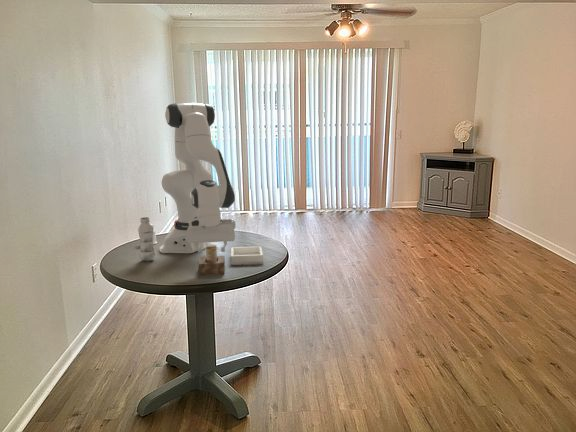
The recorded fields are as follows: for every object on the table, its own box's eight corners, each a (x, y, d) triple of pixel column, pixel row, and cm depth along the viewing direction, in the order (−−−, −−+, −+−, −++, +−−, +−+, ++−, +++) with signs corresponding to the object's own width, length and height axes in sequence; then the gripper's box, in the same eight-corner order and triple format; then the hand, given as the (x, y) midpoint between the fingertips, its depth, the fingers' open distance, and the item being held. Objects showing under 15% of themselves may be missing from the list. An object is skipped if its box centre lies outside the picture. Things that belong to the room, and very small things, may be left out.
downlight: (160, 243, 245) (158, 224, 244) (147, 246, 241) (145, 226, 239) (153, 241, 251) (151, 222, 249) (140, 243, 247) (138, 224, 245)
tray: (231, 264, 211) (231, 256, 210) (231, 255, 224) (231, 247, 223) (262, 263, 212) (262, 255, 211) (261, 254, 226) (261, 246, 225)
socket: (199, 275, 197) (198, 264, 196) (200, 267, 208) (200, 256, 206) (224, 274, 198) (223, 263, 197) (224, 266, 209) (224, 255, 207)
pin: (206, 272, 201) (205, 247, 198) (207, 269, 205) (206, 244, 202) (217, 272, 201) (216, 247, 199) (217, 269, 205) (216, 244, 203)
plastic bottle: (141, 258, 220) (138, 216, 216) (156, 258, 221) (153, 216, 216) (138, 263, 214) (135, 220, 210) (154, 262, 215) (150, 219, 210)
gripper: (235, 217, 202) (236, 248, 205) (186, 219, 200) (188, 251, 203) (235, 220, 196) (236, 252, 199) (184, 222, 194) (186, 255, 197)
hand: (211, 251), depth 201 cm, fingers open, 8 cm apart
